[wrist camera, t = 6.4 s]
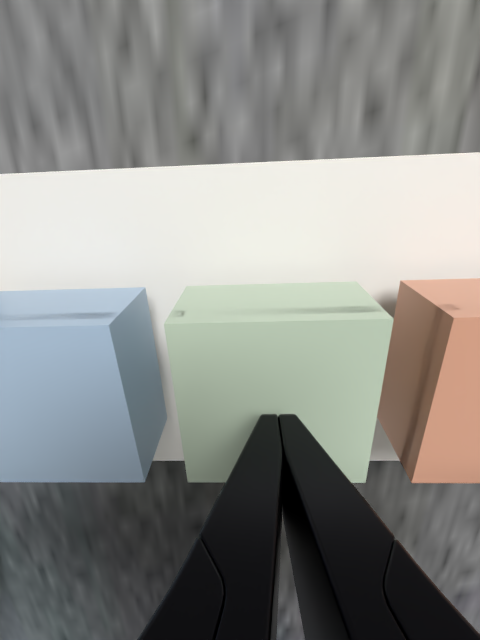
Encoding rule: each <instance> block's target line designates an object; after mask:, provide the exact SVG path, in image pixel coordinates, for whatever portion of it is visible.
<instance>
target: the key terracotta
mask: <svg viewBox="0 0 480 640" xmlns="http://www.w3.org/2000/svg"><path fill="white" fill-rule="evenodd" d="M377 417H378V419H379V421H380V423H381V425H382V427H383V429H384V431H385V433H386V435H387V437H388V439H389V441H390V442H391V444H392V446H393V448H394V450H395V452H396V454H397V456H398V458H399V460H400V462H401V464H402V465H403V467H404V469H405V471H406V473H407V475H408V477H409V479H410V481H411V483H480V278H470V279H433V280H400V286H399V291H398V297H397V303H396V309H395V315H394V321H393V327H392V332H391V338H390V344H389V350H388V355H387V361H386V367H385V373H384V379H383V384H382V390H381V396H380V402H379V408H378V413H377Z"/></svg>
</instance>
